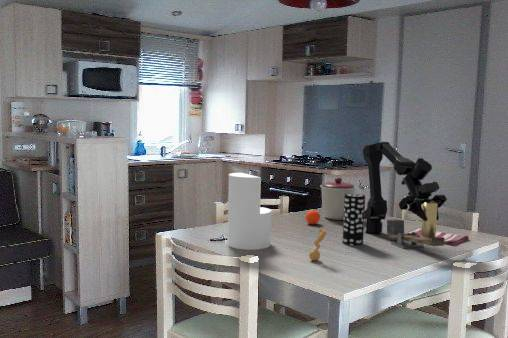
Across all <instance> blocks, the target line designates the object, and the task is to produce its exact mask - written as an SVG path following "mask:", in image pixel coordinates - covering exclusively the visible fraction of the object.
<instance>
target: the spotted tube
mask: <svg viewBox="0 0 508 338" xmlns="http://www.w3.org/2000/svg"><path fill="white" fill-rule="evenodd" d="M365 210H366V195H365V194H361V193H354V194H345V196H344V220H343V221H342V222H343V225H342V244H344V245H346V246H350V247H351V246H353V247H359V246H362V245H364V235H365V234H364V233H365V231H364V230H365V219H364V213H365Z"/></svg>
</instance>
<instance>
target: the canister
mask: <svg viewBox="0 0 508 338" xmlns="http://www.w3.org/2000/svg"><path fill="white" fill-rule="evenodd" d="M342 181H343V179H342V177H338V176H337V177H335V178H334V181H328V182H327V181H326V182H324V183H322V184H320V185H319V188H321V201H322V202H321V203H322V204H321V205H322V213H323V216H324V217H325V218H326V219H328V220H335V221H342V220H344V196H345V194H355V191H356V189H357V186H355V185H354V184H352V183H348V182H344V181H343V182H342Z"/></svg>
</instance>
